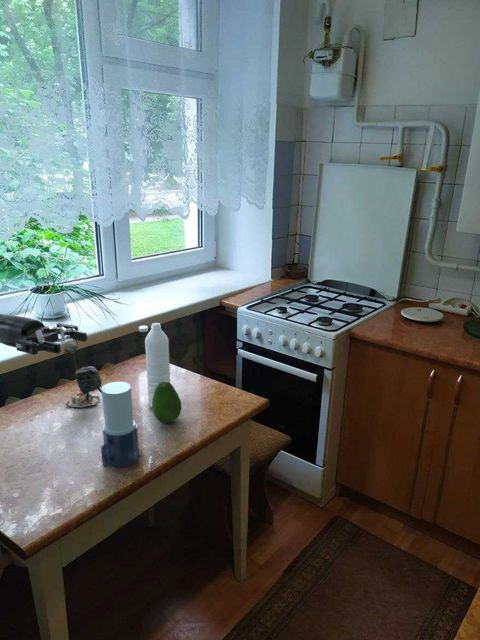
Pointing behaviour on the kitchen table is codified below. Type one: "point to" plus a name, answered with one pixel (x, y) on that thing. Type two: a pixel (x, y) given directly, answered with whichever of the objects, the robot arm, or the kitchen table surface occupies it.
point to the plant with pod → (84, 382)
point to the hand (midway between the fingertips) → (73, 342)
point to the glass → (117, 408)
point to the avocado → (166, 403)
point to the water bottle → (156, 358)
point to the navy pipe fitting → (120, 449)
